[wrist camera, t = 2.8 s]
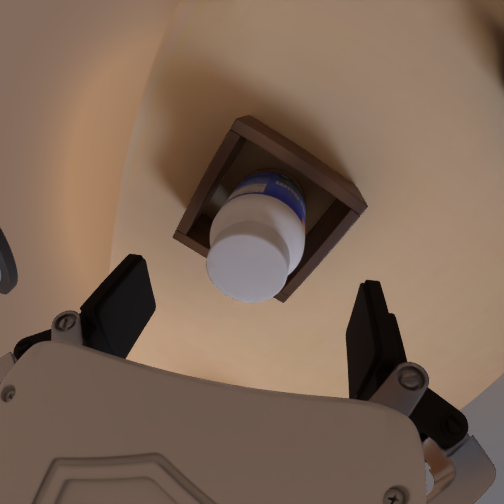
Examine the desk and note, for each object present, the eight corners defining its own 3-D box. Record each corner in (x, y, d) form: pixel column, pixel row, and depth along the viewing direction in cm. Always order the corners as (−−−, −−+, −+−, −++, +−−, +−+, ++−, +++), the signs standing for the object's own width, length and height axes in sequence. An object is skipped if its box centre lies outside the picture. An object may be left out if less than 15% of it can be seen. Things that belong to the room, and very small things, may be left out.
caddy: (190, 215, 24) (172, 237, 20) (248, 114, 19) (236, 118, 15) (287, 273, 25) (283, 303, 22) (357, 187, 20) (368, 206, 17)
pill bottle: (316, 218, 22) (321, 298, 14) (255, 241, 24) (228, 324, 16) (286, 155, 20) (274, 199, 12) (223, 184, 22) (172, 244, 13)
